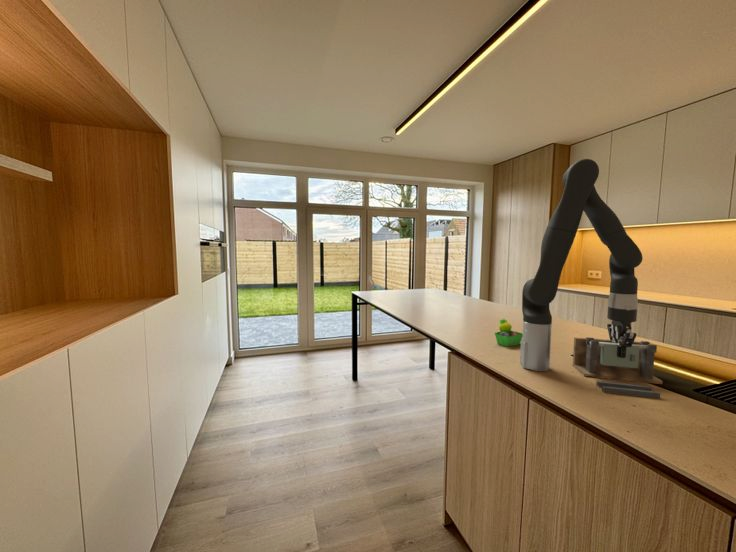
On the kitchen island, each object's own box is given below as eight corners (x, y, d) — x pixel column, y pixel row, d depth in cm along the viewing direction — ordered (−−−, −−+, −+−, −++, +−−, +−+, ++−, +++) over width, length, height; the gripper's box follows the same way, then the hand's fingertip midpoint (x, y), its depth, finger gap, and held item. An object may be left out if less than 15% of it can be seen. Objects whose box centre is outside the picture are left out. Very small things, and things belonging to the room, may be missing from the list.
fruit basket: (506, 348, 132) (507, 323, 131) (491, 342, 140) (491, 319, 139) (524, 344, 136) (525, 321, 135) (508, 339, 144) (509, 317, 143)
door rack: (603, 392, 90) (604, 387, 90) (596, 385, 95) (596, 380, 95) (660, 398, 86) (660, 393, 86) (649, 390, 91) (649, 386, 91)
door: (591, 364, 101) (593, 342, 101) (588, 361, 104) (589, 340, 103) (655, 370, 96) (657, 347, 96) (650, 367, 99) (651, 344, 98)
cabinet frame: (583, 376, 101) (585, 340, 100) (572, 365, 111) (574, 333, 110) (662, 384, 95) (665, 346, 94) (643, 372, 105) (646, 337, 104)
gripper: (599, 302, 107) (596, 348, 108) (620, 309, 93) (616, 362, 95) (624, 303, 105) (621, 350, 106) (648, 310, 91) (645, 364, 93)
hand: (619, 355), depth 100 cm, fingers closed on door, 2 cm apart
